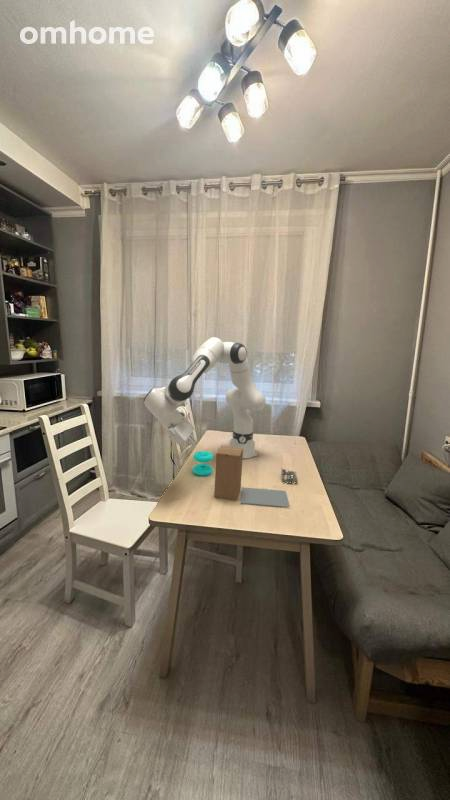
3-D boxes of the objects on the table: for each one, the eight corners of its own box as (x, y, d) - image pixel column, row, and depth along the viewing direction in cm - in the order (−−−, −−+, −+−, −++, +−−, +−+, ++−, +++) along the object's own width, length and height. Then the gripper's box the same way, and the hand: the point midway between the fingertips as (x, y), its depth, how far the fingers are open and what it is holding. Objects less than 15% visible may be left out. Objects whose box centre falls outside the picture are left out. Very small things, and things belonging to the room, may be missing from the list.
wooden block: (236, 500, 130) (239, 455, 126) (213, 497, 132) (216, 452, 128) (240, 490, 139) (243, 447, 136) (218, 487, 141) (221, 445, 138)
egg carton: (280, 474, 159) (281, 467, 158) (295, 476, 158) (296, 468, 157) (280, 483, 149) (281, 475, 148) (296, 485, 148) (297, 477, 147)
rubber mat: (241, 488, 141) (241, 487, 141) (285, 492, 140) (285, 490, 140) (240, 503, 127) (240, 502, 127) (289, 508, 126) (289, 506, 126)
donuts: (193, 457, 149) (193, 450, 158) (193, 476, 150) (192, 468, 160) (214, 457, 150) (212, 450, 160) (213, 476, 152) (211, 468, 162)
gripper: (172, 422, 121) (196, 448, 122) (183, 411, 141) (204, 433, 142) (161, 432, 122) (185, 458, 123) (173, 420, 142) (194, 442, 143)
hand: (195, 445), depth 133 cm, fingers closed
